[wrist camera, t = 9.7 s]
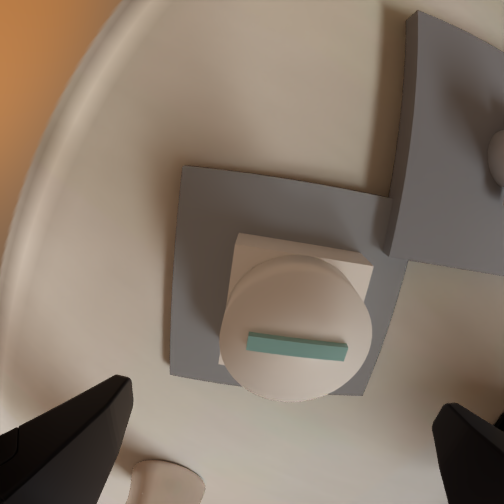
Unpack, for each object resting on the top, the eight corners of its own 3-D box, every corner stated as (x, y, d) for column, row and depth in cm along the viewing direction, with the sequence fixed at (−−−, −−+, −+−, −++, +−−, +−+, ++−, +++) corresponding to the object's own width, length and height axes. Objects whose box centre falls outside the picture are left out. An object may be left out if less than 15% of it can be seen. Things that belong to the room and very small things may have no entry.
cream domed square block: (360, 252, 14) (394, 287, 10) (331, 355, 16) (348, 410, 12) (238, 232, 14) (228, 262, 10) (223, 341, 16) (211, 396, 12)
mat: (360, 389, 17) (362, 395, 17) (172, 368, 17) (169, 374, 17) (415, 203, 14) (420, 205, 14) (185, 165, 14) (182, 165, 14)
